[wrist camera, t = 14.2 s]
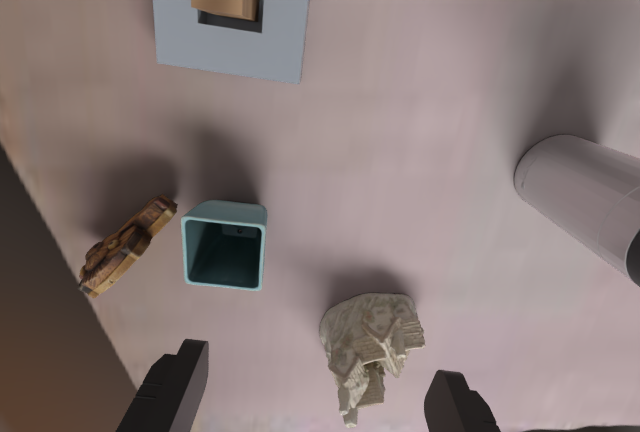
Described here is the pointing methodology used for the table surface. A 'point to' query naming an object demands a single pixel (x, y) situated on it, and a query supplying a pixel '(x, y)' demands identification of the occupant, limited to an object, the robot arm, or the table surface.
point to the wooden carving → (124, 246)
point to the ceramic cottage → (368, 346)
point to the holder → (234, 39)
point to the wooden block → (230, 8)
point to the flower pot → (224, 244)
